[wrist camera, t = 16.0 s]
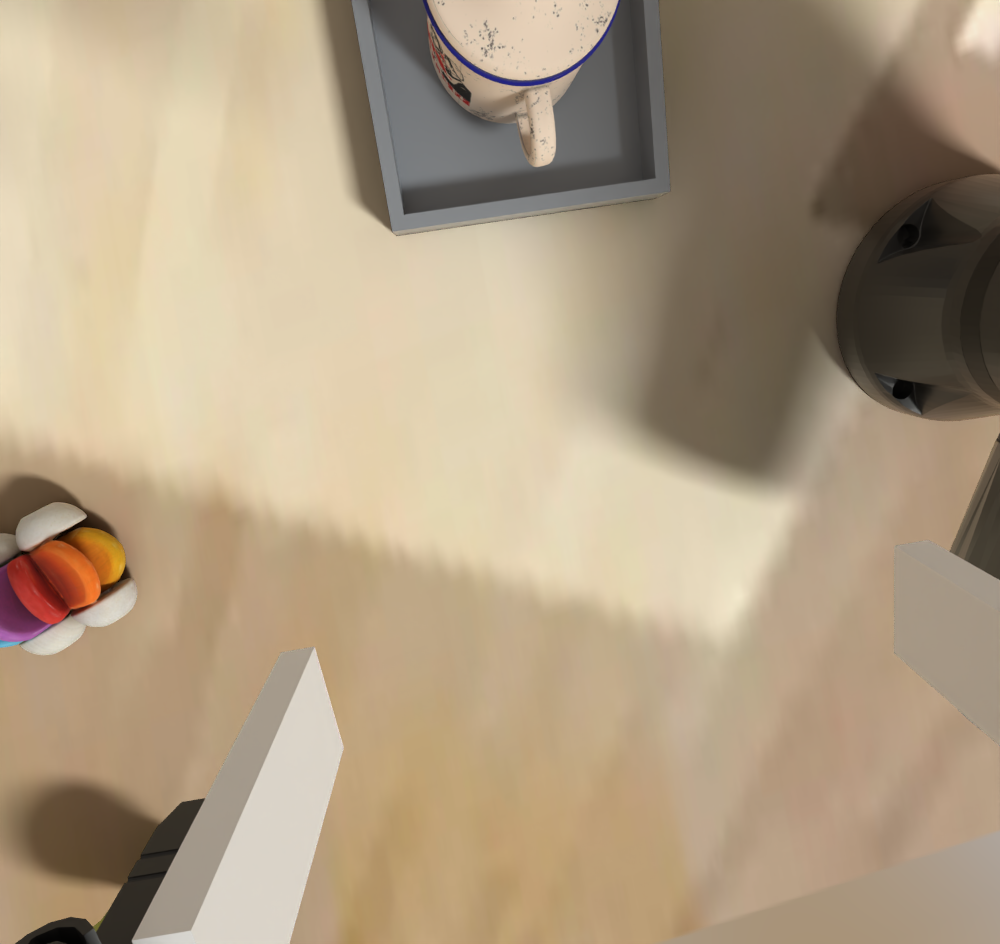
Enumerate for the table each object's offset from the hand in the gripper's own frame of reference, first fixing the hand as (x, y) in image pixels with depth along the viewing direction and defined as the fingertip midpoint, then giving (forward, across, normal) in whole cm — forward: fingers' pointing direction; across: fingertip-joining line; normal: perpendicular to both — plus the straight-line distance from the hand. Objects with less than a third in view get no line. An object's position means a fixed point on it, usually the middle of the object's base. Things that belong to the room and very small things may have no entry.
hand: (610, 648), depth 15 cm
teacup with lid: (+29, +3, +19) cm, 35 cm away
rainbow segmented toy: (+29, -32, -5) cm, 43 cm away
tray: (+30, +2, +20) cm, 36 cm away
